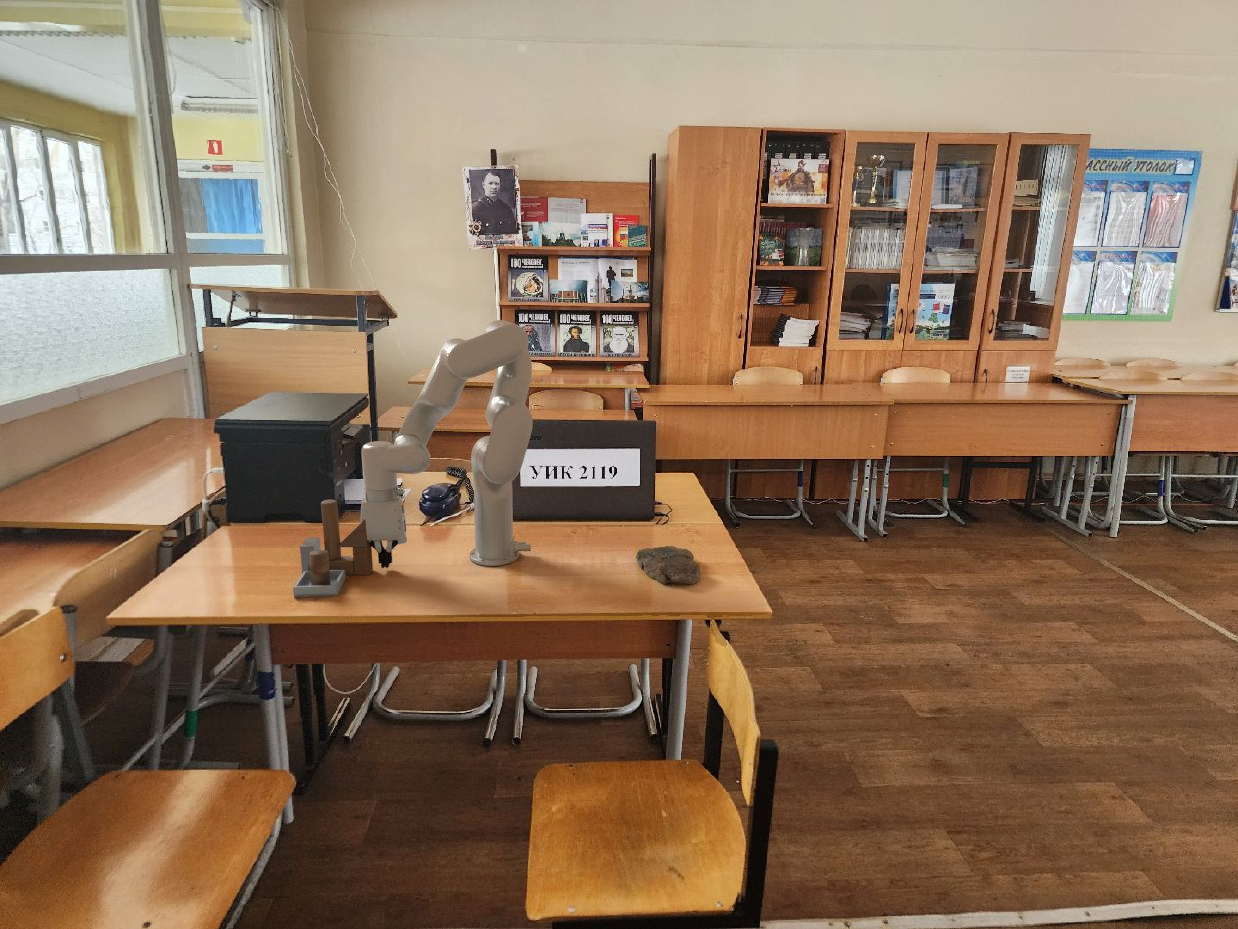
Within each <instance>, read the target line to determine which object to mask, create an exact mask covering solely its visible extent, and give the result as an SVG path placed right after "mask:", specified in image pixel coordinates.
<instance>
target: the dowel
mask: <svg viewBox="0 0 1238 929" xmlns="http://www.w3.org/2000/svg"><path fill="white" fill-rule="evenodd" d="M309 555H310V569H311V583H312V586H318V585H330V570H329V555H328V551H327V550H325V549H321V550H315V551H312V552H310V553H309Z"/></svg>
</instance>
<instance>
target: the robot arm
mask: <svg viewBox="0 0 1238 929" xmlns="http://www.w3.org/2000/svg"><path fill="white" fill-rule="evenodd" d="M528 347H529V336H528V335H527V332H526V331H525V329H524V328H522V327H521V326H520V325H518V324H516V323H513V322H510V321H507V320H503V319H496V320H493V321H491V322H490V323H489V324H487V325H486V327H485V329H484V332H483V333H482V334H480V335H478V336H475V337H473V338H470V339H463V338H451V339H448V340H447V341H445V343H443V345H442V346H441V348H440V350H439V352H438V354H437V356H436V359H435V360H434V363H433V365H432V367H431V370H430V372H429V374H428V376H427V379H426V380H425V382H424V385H423V386H422V389H421V391H420V393H419V395H418V396H417V398H416V400H415V401H414V403H413V405H412V407H411V408H410V409H409V411H408V413H407V415H406V417H405V418H404V419H403V420H404V421H403V422H402V425H401V426H400V429H399V431H398V434H397V435H396V438H395V441H394V442H393V443H391V442H389V441H385V440H383V441H382V440H380V441H379V440H376V441H370V442H366V443H365V444H363V446H362V448H361V461H362V462H361V463H362V464H361V465H362V478H363V491H364V493H363V494H364V497H363V498H362V500H361V505H360V506H361V507H360V521H359V524H360V523H362V522H363V521H364V520H365V521H366V534H367V540H368V541H369V545H370V546H371V548H373V549H374V550H375V552H376V553H377V557H378V558H377V560H378V564H380V568H381V569H384V568H386V569H388V568H389V567H390V565H391V564H392V563H393V549H395V547H397V545H402V544H405V543H407V542H408V537H407V534H406V532H407V521H406V513H405V507H404V502H403V499H402V497H401V495H404V494H405V489H404V488H400V487H399V486H398V485H399V484H398V478H397V477H398V476H397V474H405V475H416V474H421V473H423V472H425V471H426V470H427V469H428V467H430V465H431V460H432V458H431V453H430V451H429V449H428V448H427V445H428V442H429V440H430V438H431V437H432V435H433V432H434V431H435V429H436V427H437V425H438V424H439V423H440V421H441V420H442V419H444V418H445V417H446V416H448V415H450V413H451V412H452V411H453V410H454V409H455V407H456V405H457V403H458V401H459V398H460V396H461V394H462V392H463V390H464V388H465V385H466V383H468V380H469V379H474V378H477V377H479V376H481V375H485V374H486V373H489V372H491V371H496V372H495V379H494V383H493V386H492V389H491V393H490V397H489V400H488V404H487V407H486V410H485V421H486V423H487V425H488V426H489V427H490V429H491V430H490V434H489V435H486V436H483V437H481V438H479V439H478V440H477V441H476V442H475V443H474V445H473V447H472V450H471V454H470V455H471V456H470V463H471V473H472V480H473V503H474V505H473V506H474V513H473V514H474V533H475V534H474V540H475V541H474V543H475V546H474V547H475V548H472V550H470V551H469V559H470V561H471V562H473V563H474V564H477V565H481V566H488V567H494V566H496V567H498V566H504V565H509V564H511V563H514V562H515V561H517V560H518V559H519V557H520V552H531V551H532V549H531V546H532V545H531V543H526V541H517V540H515V536H514V530H513V528H514V526H513V525H514V524H513V523H514V522H513V520H514V519H513V512H514V511H513V482H512V481H514V480H515V479H516V478H517V476H518V475H519V473H520V471H521V470H522V466H523V464H524V462H525V461H524V460H525V457H526V453H527V449H528V446H529V443H530V439H531V437H532V435H531V434H532V433H533V424H534V422H533V421H534V419H533V415H532V412H531V411H530V409H529V408H528V406H527V398H528V393H529V389H530V384H531V381H532V374H533V366H532V365H533V364H532V363H533V362H532V358H531V355H530V350H529V348H528ZM383 541H384V542H385V541H386V547H384V545H383Z"/></svg>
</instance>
